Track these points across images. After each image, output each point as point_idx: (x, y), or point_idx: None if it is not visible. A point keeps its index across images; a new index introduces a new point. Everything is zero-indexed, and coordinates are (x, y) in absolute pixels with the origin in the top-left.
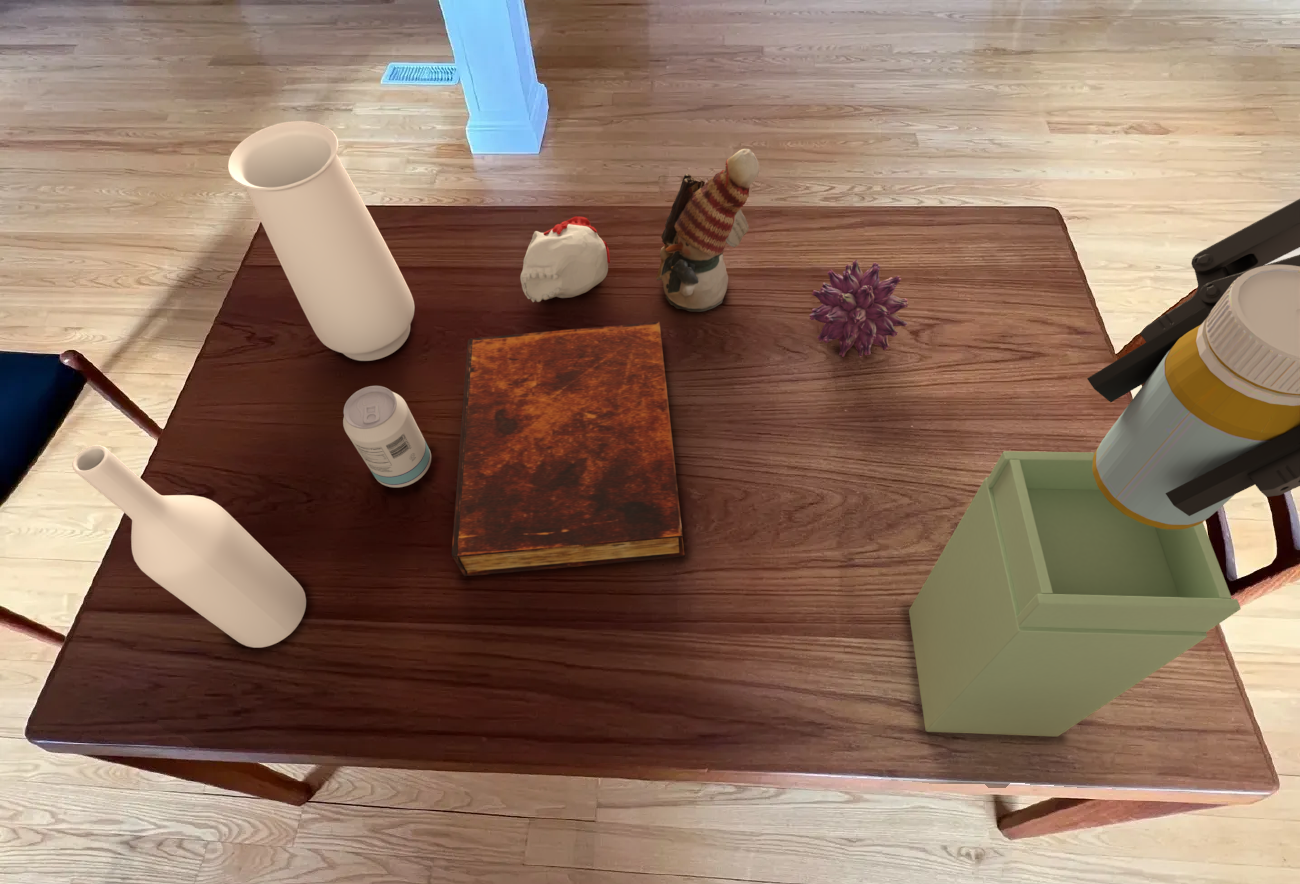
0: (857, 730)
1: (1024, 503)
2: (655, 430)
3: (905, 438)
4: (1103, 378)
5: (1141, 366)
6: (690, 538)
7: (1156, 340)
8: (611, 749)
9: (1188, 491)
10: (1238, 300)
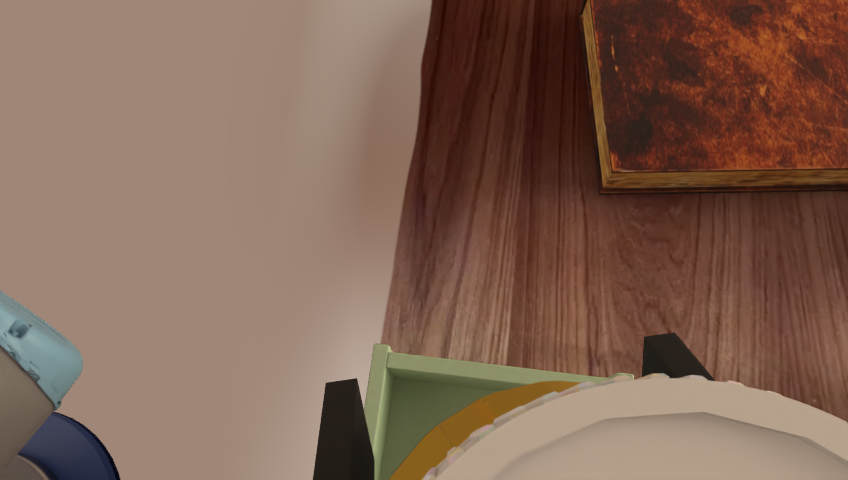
0: (416, 331)
1: (534, 375)
2: (748, 153)
3: None
4: (666, 352)
5: None
6: (621, 202)
7: None
8: (420, 126)
9: (336, 406)
10: (803, 451)
